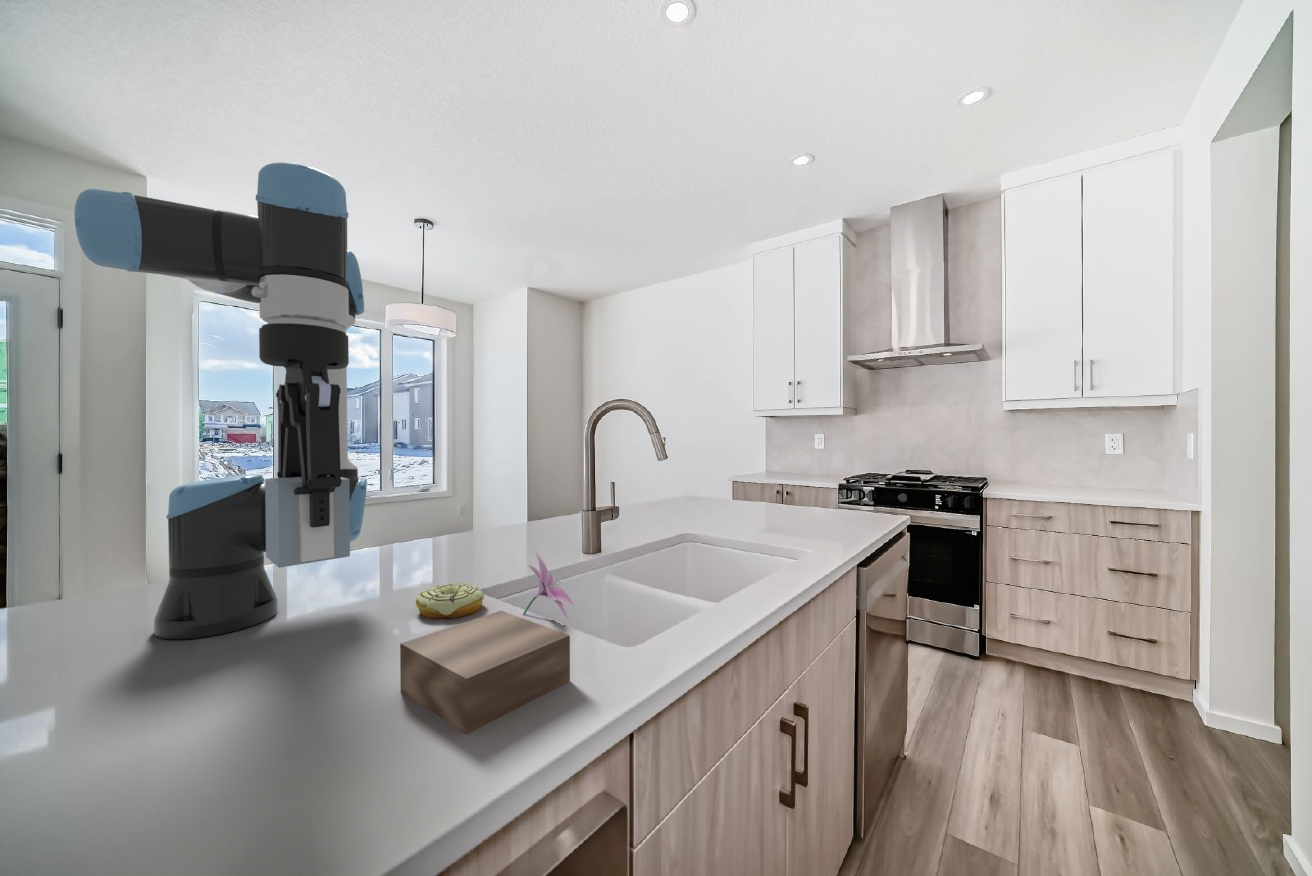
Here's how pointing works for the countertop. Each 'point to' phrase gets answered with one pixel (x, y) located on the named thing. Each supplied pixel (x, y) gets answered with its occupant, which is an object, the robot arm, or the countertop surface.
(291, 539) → the slate block
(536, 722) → the countertop surface
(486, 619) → the walnut block
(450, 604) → the decorated donut
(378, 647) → the countertop surface
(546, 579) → the lily
